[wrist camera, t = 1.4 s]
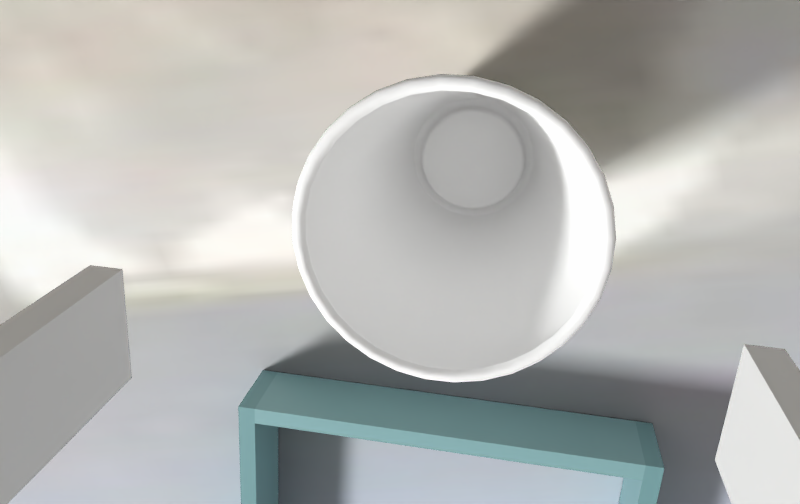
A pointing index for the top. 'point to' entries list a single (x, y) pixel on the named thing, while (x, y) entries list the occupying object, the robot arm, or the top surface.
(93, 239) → the top surface
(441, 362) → the cup
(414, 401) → the walled box
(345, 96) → the top surface
